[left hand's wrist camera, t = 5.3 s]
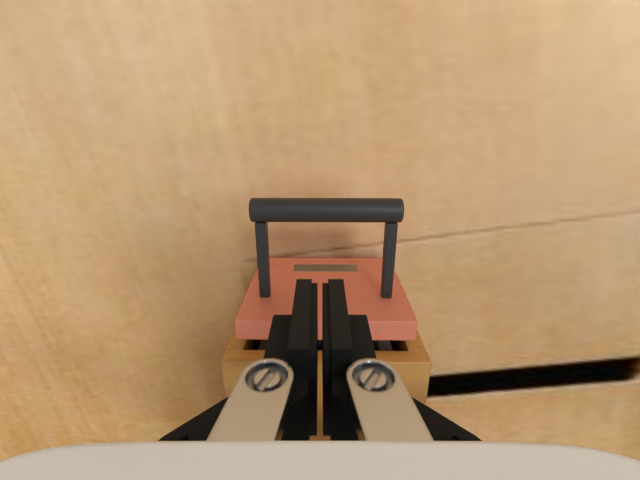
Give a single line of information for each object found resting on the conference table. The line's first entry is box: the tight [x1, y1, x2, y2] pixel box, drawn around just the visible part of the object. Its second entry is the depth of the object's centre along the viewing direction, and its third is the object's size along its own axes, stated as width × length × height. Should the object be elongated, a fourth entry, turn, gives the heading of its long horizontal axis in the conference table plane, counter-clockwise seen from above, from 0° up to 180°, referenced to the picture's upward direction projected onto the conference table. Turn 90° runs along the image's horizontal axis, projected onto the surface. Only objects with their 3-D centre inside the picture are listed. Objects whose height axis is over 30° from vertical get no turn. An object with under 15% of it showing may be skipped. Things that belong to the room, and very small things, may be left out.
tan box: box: [221, 329, 431, 441], centre depth 26 cm, size 19×11×10 cm, turn 0°
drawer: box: [234, 198, 418, 351], centre depth 24 cm, size 24×10×8 cm, turn 0°
